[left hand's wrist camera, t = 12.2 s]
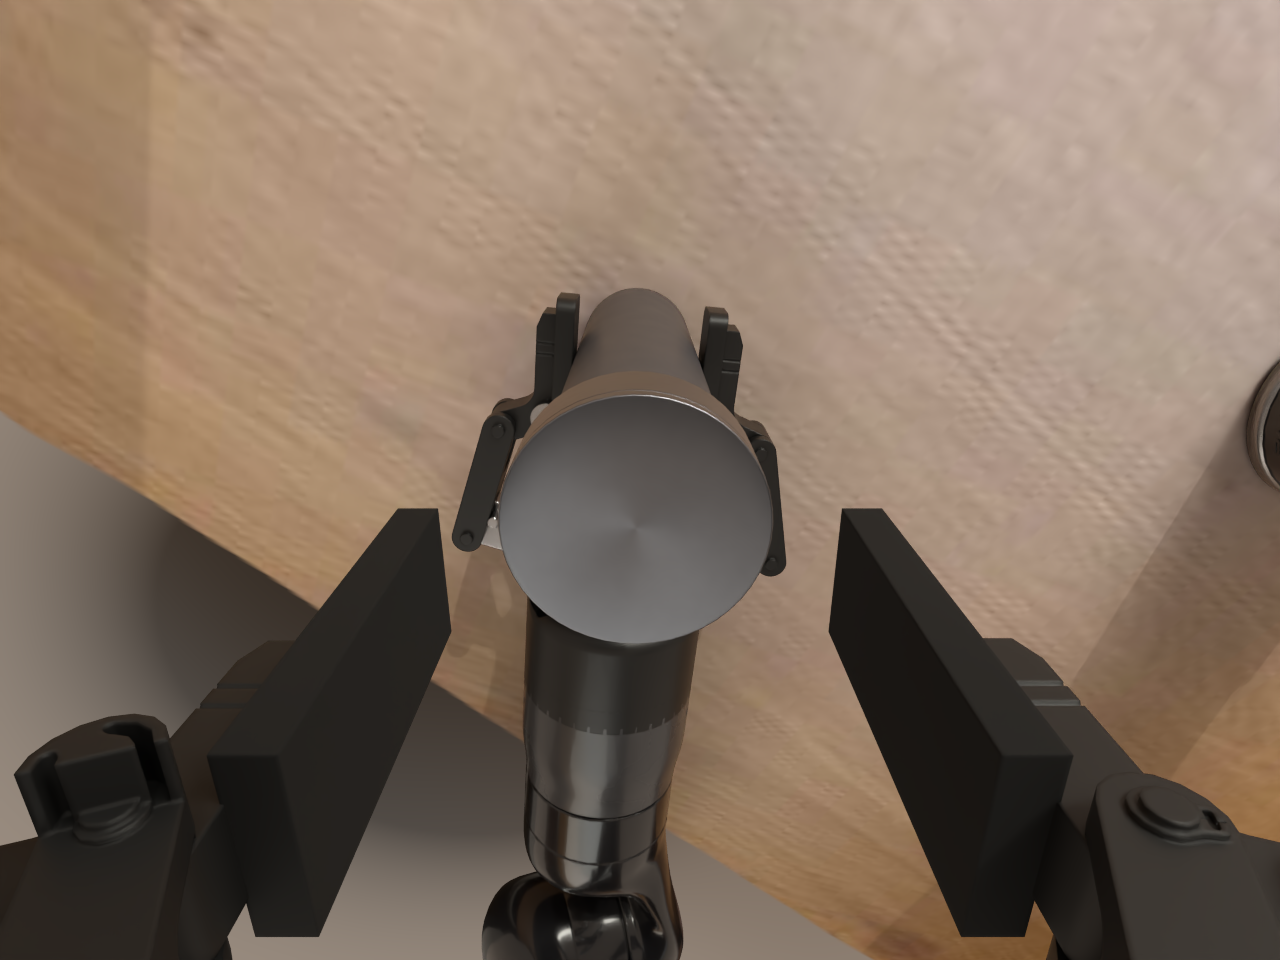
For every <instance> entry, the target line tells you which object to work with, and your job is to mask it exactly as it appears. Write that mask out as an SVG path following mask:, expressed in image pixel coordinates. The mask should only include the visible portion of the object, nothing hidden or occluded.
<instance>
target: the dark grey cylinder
mask: <svg viewBox="0 0 1280 960" xmlns="http://www.w3.org/2000/svg"><path fill="white" fill-rule="evenodd" d="M627 371H645V372H655V373H660V374H666V375H670V376H673V377H676V378H679V379H682V380H685V381H687V382H689V383H691V384H694V385H696V386H698V387H700V388H701V389H703V390H704V391H706V392H707V393H709V394H711V393H710V390H709V388H708V385H707V382H706V379H705V376H704V374H703V371H702V368H701V365H700V362H699V359H698V357H697V354H696V351H695V348H694V345H693V343H692V340H691V337H690V334H689V331H688V329H687V326H686V323H685V320H684V318H683V316H682V314H681V313H680V311H679V310H678V308H677V307H676V306H675V305H674V304H673V303H672V302H671V301H670V300H669V299H667V298H666V297H664V296H663V295H661V294H659V293H657V292H654V291H651V290H647V289H641V288H633V289H626V290H622V291H619V292H616V293H614V294H612V295H610V296H609V297H607V298H606V299H604V300H603V301H602V302H601V303H600V304H599V305H598V306H597V307H596V309H595V310H594V311H593V313H592V315H591V316H590V319H589V321H588V323H587V326H586V329H585V332H584V334H583V337H582V340H581V342H580V345H579V348H578V351H577V353H576V356H575V359H574V361H573V364H572V367H571V370H570V372H569V375H568V378H567V380H566V383H565V386H564V388H563V391H562V393H564V392H565V391H567V390H568V389H570V388H572V387H574V386H576V385H578V384H580V383H582V382H584V381H587V380H589V379H592V378H595V377H598V376H601V375H606V374H611V373H615V372H627Z"/></svg>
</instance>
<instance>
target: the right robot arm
mask: <svg viewBox="0 0 1280 960" xmlns="http://www.w3.org/2000/svg"><path fill="white" fill-rule="evenodd" d="M579 306H580V294H573V293H562V292H561V293H560V295H559V296H558V298H557V304H556V308H551V307H547V308H546V310H545V311H544V312H543V314H542V316H541V318H540V321H539V323H538V325H537V336H536V362H535V388H534V392H533V393H532V394H530V395H529V396H526V397H523V398H519V399H515V400H514V399H510V398H505V399H502V400H500V401H499V402H498V403H497V404H496V405H495V407H494V408H493V411H492V414H491V415H490V416H488V418H487V419H486V421H485V422H484V424H483V427H482V430H481V434H480V437H479V441H478V444H477V448H476V451H475V455H474V459H473V462H472V466H471V469H470V473H469V476H468V480H467V483H466V487H465V490H464V494H463V497H462V501H461V505H460V508H459V512H458V515H457V519H456V522H455V526H454V529H453V533H452V541H453V543H454V545H455V546H456V547H457V548H458V549H460V550H462V551H467V552H470V551H474V550H476V549H477V548H479V547H480V545H481V544H483V545H486V546H489V547H493V548H496V549H499V550H502V547H501V542H500V537H499V531H498V508H499V500H500V495H501V493H500V491H501V488H502V485H503V482H504V478H505V475H506V472H507V468H508V465H509V462H510V458H511V455H512V452H513V449H514V445H515V442H516V439H519V438H523V437H524V436H525V434H526V432H527V431H528V429H529V427H530V426H531V424H532V423H533V421H534V420H535V419H536V418H537V416H538V415H539V414H540V413H541V411H542V410H543V409H544V408H545V407H546V406H548V405H549V404H550V403H551V402H552V401H553V400H554V399H555V398H557V397H558V396H560V395H561V394H562V391H563V388H564V386H565V383H566V380H567V378H568V375H569V372H570V370H571V367H572V364H573V361H574V359H575V356H576V353H577V340H578V323H579ZM742 349H743V344H742V340H741V336H740V332H739V330H738V329H737V328H736V326H735V325H729V324H728V313H727V312H726V310H725V309H724V308H717V307H705V311H704V317H703V326H702V334H701V342H700V350H699V358H698V359H699V362H700V365H701V368H702V371H703V374H704V376H705V379H706V382H707V385H708V388H709V390H710V393H711V395H712V396H713V397H715V398H716V399H717V400H718V401H719V402H721V403H722V404H723V405H724V406H725V407H726V408H727V409H728V410H729V411H730V412H731V413H732V415H733V416H734V417H735V418H736V419H737V421H738V422H739V424H740V425H741V427H742V428H743V430H744V431H745V433H746V435H747V437H748V439H749V441H750V443H751V446H752V448H753V450H754V452H755V455H756V457H757V459H758V461H759V464H760V466H761V468H762V470H763V473H764V475H765V477H766V481H767V484H768V487H769V490H770V494H771V500H772V506H773V530H772V538H771V543H770V547H769V550H768V554H767V557H766V560H765V562H764V564H763V567H762V569H761V571H760V573H761V574H763V575H765V576H776V575H778V574H780V573H781V572H782V571H783V570H784V568H785V566H786V554H785V543H784V532H783V521H782V510H781V499H780V488H779V477H778V466H777V455H776V449H775V446H774V445H773V443H772V441H771V439H770V437H769V435H768V433H767V431H766V429H765V428H764V426H763V425H762V424H761V423H760V422H758V421H753V420H752V421H749V420H747V419H745V418H743V417H741V416H739V415H737V414H736V413H735V412H734V403H735V397H736V390H737V383H738V376H739V369H740V361H741V355H742ZM1247 448H1248V454H1249V457H1250V460H1251V462H1252V465H1253V467H1254V469H1255V470H1256V472H1257V473H1258V475H1259V476H1260V477H1261V478H1262V479H1263V480H1264V481H1265V482H1266V483H1267V484H1268V485H1269V486H1271V487H1272V488H1274V489H1275V490H1277V491H1279V492H1280V362H1279V363H1278V364H1277V365H1276V367H1275V368H1274V369H1273V370H1272V372H1271V373H1270V374H1269V376H1268V377H1267V379H1266V380H1265V382H1264V383H1263V385H1262V387H1261V389H1260V390H1259V392H1258V394H1257V396H1256V398H1255V401H1254V403H1253V406H1252V409H1251V412H1250V416H1249V419H1248V426H1247ZM698 633H699V630H697V631H695V632H692V633H690V634H688V635H685V636H681V637H678V638H675V639H671V640H666V641H661V642H655V643H642V644H631V643H617V642H611V641H604V640H601V639H597V638H593V637H589V636H587V635H584V634H582V633H579V632H577V631H574V630H572V629H570V628H568V627H566V626H564V625H563V624H561V623H559V622H557V621H556V620H554V619H553V618H552V617H550V616H549V615H547V614H546V613H545V612H543V611H542V610H541V609H540V608H539V607H538V606H537V605H536V604H535V603H533V602H532V600H531V599H530V598H529V597H528V599H527V624H526V649H525V674H524V700H523V734H524V743H525V749H526V760H527V764H526V783H525V807H524V838H525V845H526V850H527V853H528V856H529V859H530V861H531V863H532V865H533V867H534V868H535V870H536V871H537V872H533V873H530V874H526V875H523V876H519V877H517V878H515V879H513V880H511V881H509V882H507V883H506V884H505V885H503V886H502V887H501V889H500V890H499V891H498V892H497V894H496V895H495V896H494V898H493V900H492V902H491V904H490V906H489V908H488V911H487V914H486V917H485V920H484V925H483V931H482V955H483V960H679V959H680V956H681V953H682V948H683V928H682V922H681V916H680V911H679V907H678V903H677V899H676V896H675V892H674V888H673V885H672V880H671V876H670V870H669V863H668V854H667V845H666V831H665V826H666V820H667V812H668V805H669V798H670V791H671V783H672V776H673V771H674V767H675V763H676V760H677V758H678V755H679V752H680V748H681V745H682V741H683V736H684V730H685V723H686V717H687V710H688V703H689V696H690V689H691V682H692V675H693V668H694V661H695V654H696V647H697V640H698Z"/></svg>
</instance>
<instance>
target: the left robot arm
mask: <svg viewBox="0 0 1280 960" xmlns="http://www.w3.org/2000/svg"><path fill="white" fill-rule="evenodd" d="M450 634H451V623H450V614H449V605H448V596H447V587H446V578H445V569H444V559H443V550H442V541H441V532H440V523H439V514H438V509H397V511H396V512H395V513H394V514H393V516H392V517H391V518H390V520H389V521H388V522H387V523H386V525H385V526H384V527H383V529H382V530H381V531H380V532H379V534H378V535H377V536H376V538H375V539H374V540H373V541H372V543H371V544H370V545H369V547H368V548H367V549H366V550H365V552H364V553H363V554H362V556H361V557H360V558H359V559H358V561H357V562H356V563H355V565H354V566H353V567H352V568H351V570H350V571H349V572H348V574H347V575H346V576H345V577H344V579H343V580H342V581H341V583H340V584H339V585H338V586H337V588H336V589H335V590H334V592H333V593H332V594H331V595H330V597H329V598H328V599H327V601H326V602H325V603H324V605H323V606H322V607H321V608H320V610H319V611H318V612H317V614H316V615H315V616H314V617H313V619H312V620H311V621H310V623H309V624H308V625H307V626H306V628H305V629H304V630H303V632H302V633H301V634H300V635H299V637H298V638H297V639H296V641H267V642H266V643H264V644H263V645H261V646H260V647H258V648H256V649H255V650H253V651H252V652H250V653H249V654H247V655H246V656H244V657H243V658H241V659H240V660H238V661H237V662H236V663H235V664H234V665H233V667H232V668H231V669H230V670H229V671H228V672H227V674H226V675H225V676H224V677H223V678H222V679H221V680H220V682H219V683H218V684H217V689H213V690H212V691H211V692H210V693H209V694H208V695H207V697H206V698H205V699H204V700H203V701H202V702H201V704H200V705H201V706H200V709H195V710H194V712H193V713H192V714H191V715H190V716H189V717H188V719H187V720H186V721H185V722H184V723H183V724H182V725H181V727H180V728H179V729H178V730H177V731H176V732H175V733H174V735H173V736H172V737H171V738H169V735H168V731H167V728H166V725H165V724H163V723H162V722H161V721H159V720H158V719H157V718H155V717H152V716H146V715H139V714H128V715H119V716H111V717H106V718H103V719H100V720H96V721H93V722H90V723H87V724H84V725H80V726H78V727H76V728H74V729H72V730H70V731H68V732H66V733H64V734H62V735H60V736H57V737H55V738H53V739H52V740H50V741H49V742H47V743H46V744H45V745H43V746H42V747H41V748H39V749H38V750H36V751H35V752H34V753H32V754H31V755H30V756H28V757H27V759H26V760H25V761H24V762H23V764H22V765H21V766H20V767H19V769H18V770H17V771H16V772H15V774H14V776H15V779H16V782H17V784H18V787H19V789H20V792H21V794H22V797H23V799H24V802H25V804H26V807H27V809H28V812H29V814H30V817H31V819H32V822H33V824H34V827H35V830H36V832H37V834H38V837H35V838H32V839H27V840H23V841H19V842H14V843H10V844H6V845H2V846H0V960H232V954H231V948H230V945H229V941H228V938H227V936H228V935H229V933H230V931H231V929H232V927H233V926H234V924H235V922H236V920H237V918H238V917H239V915H240V913H241V911H242V909H243V908H244V906H245V904H247V908H248V911H249V915H250V919H251V922H252V926H253V930H254V933H255V937H319V935H320V933H321V931H322V928H323V926H324V924H325V922H326V919H327V917H328V915H329V912H330V910H331V908H332V905H333V903H334V901H335V898H336V896H337V894H338V892H339V889H340V887H341V885H342V882H343V880H344V878H345V875H346V873H347V871H348V869H349V866H350V864H351V862H352V859H353V857H354V855H355V852H356V850H357V848H358V845H359V843H360V841H361V839H362V836H363V834H364V832H365V829H366V827H367V825H368V822H369V820H370V818H371V816H372V813H373V811H374V809H375V806H376V804H377V802H378V799H379V797H380V795H381V793H382V790H383V788H384V785H385V783H386V781H387V779H388V776H389V774H390V772H391V769H392V767H393V765H394V763H395V760H396V758H397V756H398V753H399V751H400V749H401V746H402V744H403V742H404V740H405V737H406V735H407V733H408V730H409V728H410V726H411V723H412V721H413V719H414V717H415V714H416V712H417V710H418V707H419V705H420V703H421V700H422V698H423V696H424V693H425V691H426V689H427V687H428V684H429V682H430V680H431V677H432V675H433V673H434V670H435V668H436V666H437V664H438V661H439V659H440V657H441V654H442V652H443V650H444V647H445V645H446V643H447V641H448V638H449V636H450ZM829 634H830V636H831V638H832V641H833V643H834V645H835V647H836V650H837V652H838V654H839V657H840V659H841V661H842V664H843V666H844V668H845V670H846V673H847V675H848V677H849V680H850V682H851V684H852V687H853V689H854V691H855V693H856V696H857V698H858V700H859V703H860V705H861V707H862V710H863V712H864V714H865V717H866V719H867V721H868V723H869V726H870V728H871V730H872V733H873V735H874V737H875V740H876V742H877V744H878V746H879V749H880V751H881V753H882V756H883V758H884V760H885V763H886V765H887V767H888V769H889V772H890V774H891V776H892V779H893V781H894V783H895V786H896V788H897V790H898V793H899V795H900V797H901V799H902V802H903V804H904V806H905V809H906V811H907V813H908V816H909V818H910V820H911V822H912V825H913V827H914V829H915V832H916V834H917V836H918V839H919V841H920V843H921V846H922V848H923V850H924V852H925V855H926V857H927V859H928V862H929V864H930V866H931V869H932V871H933V873H934V875H935V878H936V880H937V882H938V885H939V887H940V889H941V892H942V894H943V896H944V898H945V901H946V903H947V905H948V908H949V910H950V912H951V915H952V917H953V919H954V922H955V924H956V926H957V928H958V931H959V933H960V935H961V937H1025V933H1026V930H1027V926H1028V922H1029V919H1030V915H1031V911H1032V908H1033V904H1034V900H1035V902H1036V904H1037V906H1038V907H1039V909H1040V911H1041V913H1042V915H1043V916H1044V918H1045V920H1046V922H1047V924H1048V925H1049V927H1050V929H1051V931H1052V932H1053V938H1052V941H1051V945H1050V948H1049V951H1048V955H1047V958H1046V960H1280V842H1275V841H1271V840H1267V839H1262V838H1258V837H1254V836H1249V835H1246V834H1243V833H1239V832H1238V830H1237V829H1236V827H1235V826H1234V824H1233V823H1232V821H1231V820H1230V819H1229V817H1228V816H1227V815H1225V814H1224V813H1223V812H1222V811H1221V810H1219V809H1218V808H1217V807H1216V806H1215V805H1213V804H1212V803H1211V802H1210V801H1209V800H1207V799H1206V798H1204V797H1203V796H1201V795H1199V794H1197V793H1195V792H1193V791H1192V790H1190V789H1188V788H1186V787H1184V786H1183V785H1181V784H1178V783H1175V782H1173V781H1170V780H1167V779H1164V778H1161V777H1158V776H1155V775H1151V774H1144V773H1143V772H1142V771H1141V770H1140V769H1139V768H1138V767H1137V765H1136V764H1135V763H1134V762H1133V761H1132V760H1131V759H1130V757H1129V756H1128V755H1127V754H1126V753H1125V752H1124V751H1123V749H1122V748H1121V747H1120V746H1119V745H1118V744H1117V743H1116V741H1115V740H1114V739H1113V738H1112V737H1111V736H1110V735H1109V733H1108V732H1107V731H1106V730H1105V729H1104V728H1103V727H1102V725H1101V724H1100V723H1099V722H1098V721H1097V720H1096V719H1095V717H1094V716H1093V715H1092V714H1091V713H1090V712H1089V710H1088V709H1087V708H1086V707H1085V706H1081V705H1080V700H1079V699H1078V698H1077V697H1076V696H1075V694H1074V693H1073V692H1072V691H1071V690H1070V689H1069V688H1068V686H1064V685H1063V681H1062V680H1061V678H1060V677H1059V676H1058V675H1057V674H1056V673H1055V672H1054V670H1053V669H1052V668H1051V667H1050V666H1049V665H1048V664H1047V662H1046V661H1045V660H1044V659H1043V658H1042V657H1040V656H1039V655H1037V654H1035V653H1034V652H1032V651H1031V650H1029V649H1028V648H1026V647H1025V646H1023V645H1021V644H1020V643H1018V642H1017V641H1015V640H1014V639H1012V638H982V637H981V635H980V634H979V633H978V632H977V630H976V629H975V628H974V626H973V625H972V624H971V623H970V621H969V620H968V619H967V617H966V616H965V615H964V614H963V612H962V611H961V610H960V608H959V607H958V606H957V605H956V603H955V602H954V601H953V599H952V598H951V597H950V595H949V594H948V593H947V592H946V590H945V589H944V588H943V586H942V585H941V584H940V583H939V581H938V580H937V579H936V577H935V576H934V575H933V574H932V572H931V571H930V570H929V568H928V567H927V566H926V565H925V563H924V562H923V561H922V559H921V558H920V557H919V556H918V554H917V553H916V552H915V550H914V549H913V548H912V547H911V545H910V544H909V543H908V541H907V540H906V539H905V538H904V536H903V535H902V534H901V532H900V531H899V530H898V529H897V527H896V526H895V525H894V523H893V522H892V521H891V520H890V518H889V517H888V516H887V514H886V513H885V512H884V511H883V509H842V514H841V523H840V532H839V541H838V550H837V559H836V569H835V578H834V587H833V596H832V605H831V614H830V623H829Z"/></svg>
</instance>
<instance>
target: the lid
mask: <svg viewBox="0 0 1280 960" xmlns="http://www.w3.org/2000/svg"><path fill="white" fill-rule="evenodd" d="M772 530H773V506H772V500H771V494H770V490H769V487H768V484H767V481H766V477H765V475H764V473H763V470H762V468H761V466H760V464H759V461H758V459H757V457H756V455H755V452H754V450H753V448H752V446H751V443H750V441H749V439H748V437H747V435H746V433H745V431H744V430H743V428H742V427H741V425H740V424H739V422H738V421H737V419H736V418H735V417H734V416H733V415H732V413H731V412H730V411H729V410H728V409H727V408H726V407H725V406H724V405H723V404H722V403H721V402H719V401H718V400H717V399H716V398H715V397H713V396H712V395H711V394H709V393H707V392H706V391H704V390H703V389H701V388H700V387H698V386H696V385H694V384H691V383H689V382H687V381H685V380H682V379H679V378H676V377H673V376H670V375H666V374H660V373H655V372H645V371H627V372H615V373H611V374H606V375H601V376H598V377H595V378H592V379H589V380H587V381H584V382H582V383H580V384H578V385H576V386H574V387H572V388H570V389H568V390H567V391H565V392H564V393H562V394H561V395H560V396H558V397H557V398H555V399H554V400H553V401H552V402H551V403H550V404H549V405H548V406H546V407H545V408H544V409H543V410H542V411H541V413H540V414H539V415H538V416H537V418H536V419H535V420H534V421H533V423H532V424H531V426H530V427H529V429H528V431H527V432H526V434H525V436H524V438H523V440H522V442H521V444H520V447H519V449H518V451H517V453H516V455H515V457H514V460H513V462H512V464H511V466H510V469H509V471H508V473H507V476H506V478H505V480H504V483H503V487H502V491H501V495H500V500H499V508H498V531H499V537H500V542H501V547H502V550H503V553H504V556H505V559H506V562H507V564H508V566H509V568H510V570H511V572H512V575H513V576H514V578H515V579H516V581H517V582H518V584H519V585H520V587H521V589H522V590H523V591H524V592H525V593H526V595H527V596H528V597H529V598H530V599H531V600H532V602H533V603H535V604H536V605H537V606H538V607H539V608H540V609H541V610H542V611H543V612H545V613H546V614H547V615H549V616H550V617H552V618H553V619H554V620H556V621H557V622H559V623H561V624H563V625H564V626H566V627H568V628H570V629H572V630H574V631H577V632H579V633H582V634H584V635H587V636H589V637H593V638H597V639H601V640H604V641H611V642H617V643H631V644H642V643H655V642H661V641H666V640H671V639H675V638H678V637H681V636H685V635H688V634H690V633H692V632H695V631H697V630H699V629H701V628H703V627H705V626H707V625H709V624H710V623H712V622H714V621H716V620H717V619H718V618H720V617H721V616H722V615H724V614H725V613H726V612H728V611H729V610H730V609H731V608H732V607H733V606H734V605H735V604H736V603H738V602H739V601H740V600H741V599H742V597H743V596H744V595H745V594H746V592H747V591H748V590H749V589H750V587H751V586H752V585H753V583H754V581H755V580H756V578H757V576H758V575H759V573H760V571H761V569H762V567H763V564H764V562H765V560H766V557H767V554H768V550H769V547H770V543H771V538H772Z"/></svg>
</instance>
